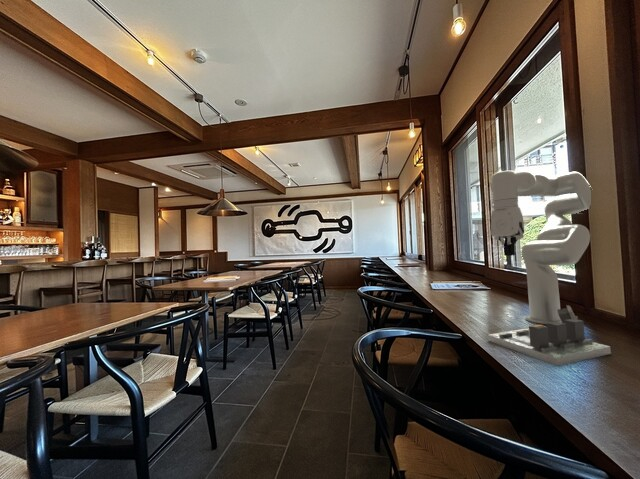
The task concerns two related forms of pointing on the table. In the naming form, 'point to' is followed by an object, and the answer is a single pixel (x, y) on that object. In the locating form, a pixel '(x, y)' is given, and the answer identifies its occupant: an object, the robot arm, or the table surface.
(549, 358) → the panel
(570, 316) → the electrical switch
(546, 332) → the orange striped slider handle
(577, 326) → the handle near
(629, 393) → the table surface
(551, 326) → the handle middle
